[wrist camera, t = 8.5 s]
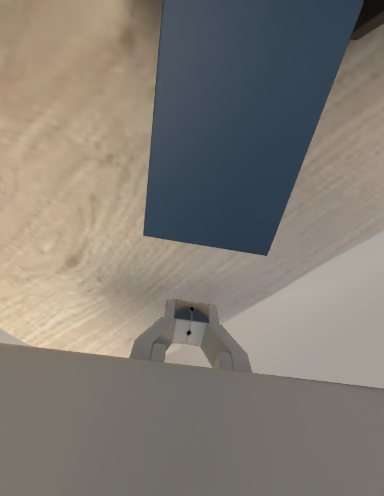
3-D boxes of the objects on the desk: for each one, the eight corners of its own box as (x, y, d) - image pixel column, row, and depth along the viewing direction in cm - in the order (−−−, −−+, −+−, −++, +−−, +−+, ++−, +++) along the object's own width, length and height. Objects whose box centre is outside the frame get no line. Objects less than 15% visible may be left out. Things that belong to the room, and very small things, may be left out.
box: (291, 61, 12) (365, -1, 7) (243, 219, 16) (267, 256, 11) (178, 34, 11) (166, -54, 6) (159, 205, 15) (142, 236, 10)
